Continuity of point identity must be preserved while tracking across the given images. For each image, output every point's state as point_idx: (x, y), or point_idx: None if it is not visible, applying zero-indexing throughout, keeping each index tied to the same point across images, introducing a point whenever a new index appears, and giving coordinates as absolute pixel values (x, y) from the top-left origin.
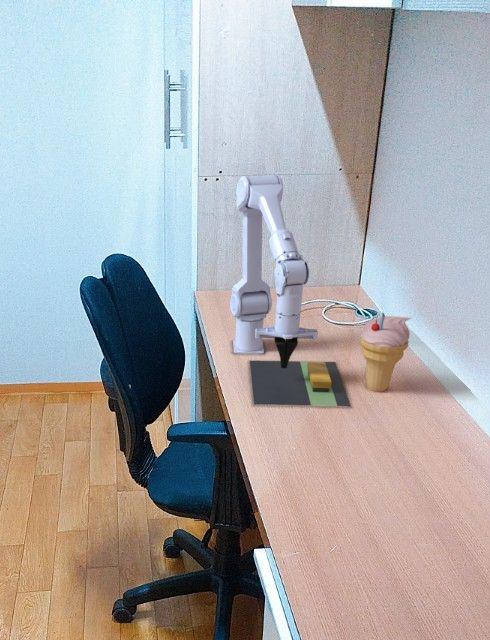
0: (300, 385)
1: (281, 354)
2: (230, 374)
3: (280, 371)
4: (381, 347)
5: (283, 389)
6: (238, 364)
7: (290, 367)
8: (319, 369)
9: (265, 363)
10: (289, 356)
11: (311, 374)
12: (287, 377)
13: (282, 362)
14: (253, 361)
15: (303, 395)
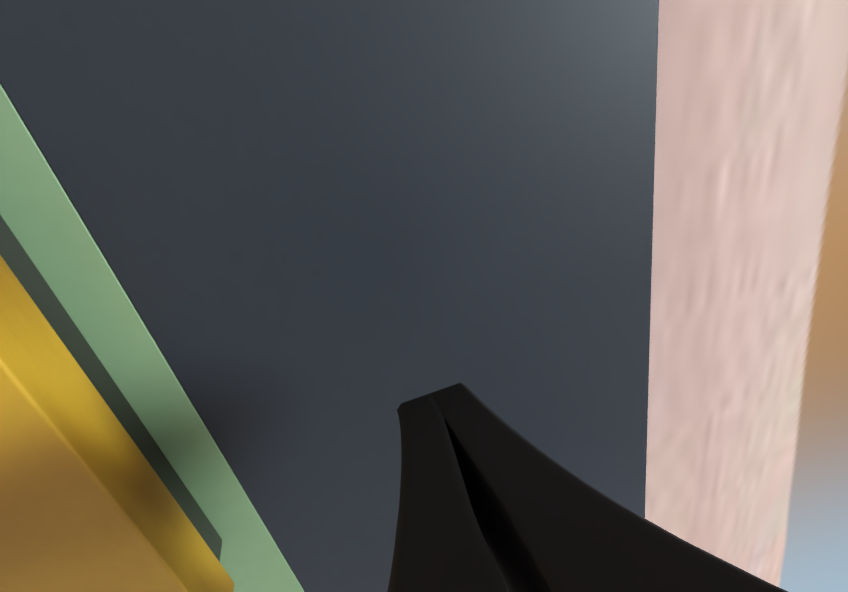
0: (197, 291)
1: (583, 517)
2: (773, 305)
3: None
4: None
5: (350, 127)
6: (704, 457)
7: (382, 555)
8: (8, 575)
9: None
10: (413, 547)
11: (34, 418)
12: (369, 403)
13: (483, 425)
14: None
15: (39, 2)
